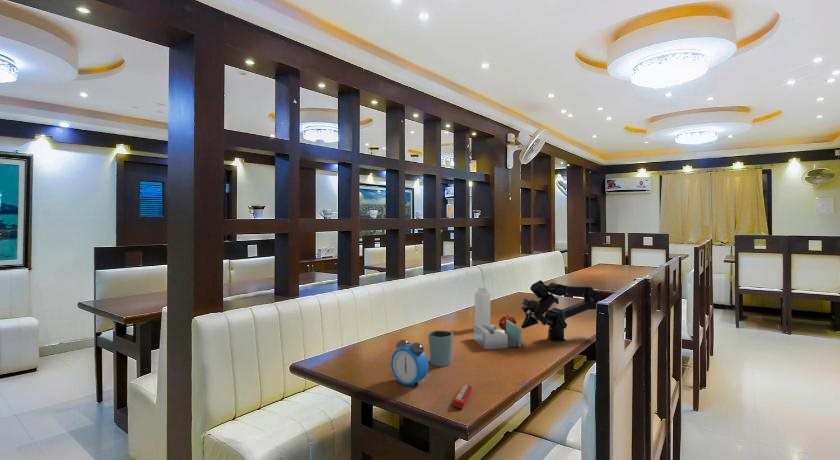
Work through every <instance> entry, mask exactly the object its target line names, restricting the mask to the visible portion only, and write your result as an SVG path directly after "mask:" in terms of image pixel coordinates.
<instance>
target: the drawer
mask: <svg viewBox="0 0 840 460" xmlns="http://www.w3.org/2000/svg"><path fill="white" fill-rule="evenodd" d="M490 333H491V334H494V332H490ZM505 334H508V348H511V347H515V348H516V347H518V348H521V347H522V328H520V327H519V326H517V324H515V325H514V324H513V323H511V322H510V321H508V320H506V331H505Z"/></svg>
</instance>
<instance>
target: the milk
mask: <svg viewBox="0 0 840 460" xmlns="http://www.w3.org/2000/svg"><path fill="white" fill-rule="evenodd" d="M487 290H488V289H487V288H484V287H478V289H477V291H476V292H475V293H474V325H475V324H481V325H491V293H490V292H488V291H487Z"/></svg>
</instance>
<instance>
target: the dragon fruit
mask: <svg viewBox="0 0 840 460" xmlns="http://www.w3.org/2000/svg"><path fill="white" fill-rule="evenodd" d="M506 320H508V321H510V322H511V323H513V324H514V325H517V320H516V318H515V317H514V316H513V315H511V316H509V315H508V314H507V315H506V316H505V315H504V316H502V317H501V318H500V319H499V322H498V326H499V329H501V330H504V331H505V332H506Z"/></svg>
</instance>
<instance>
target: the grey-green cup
mask: <svg viewBox="0 0 840 460" xmlns="http://www.w3.org/2000/svg"><path fill="white" fill-rule="evenodd" d="M453 336H454V333H453V332H451V331H448V330H433V331H429V332H428V336H427V337H428V345H429V362H430V364H431V365H433V366H435V367H448V366H450V365H451V364H452V353H453V351H452V350H453Z"/></svg>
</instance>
